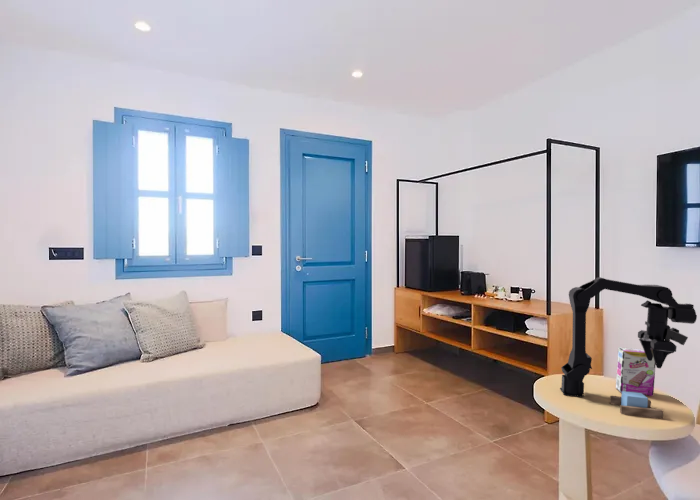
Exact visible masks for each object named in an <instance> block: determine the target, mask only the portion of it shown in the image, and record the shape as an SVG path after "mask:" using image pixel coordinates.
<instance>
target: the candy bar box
mask: <svg viewBox="0 0 700 500" xmlns="http://www.w3.org/2000/svg"><path fill="white" fill-rule="evenodd" d="M655 372H656V364H655V361H654V358H652V361H649V360H648V359H647V357H646V354H645V352H644V349H643V348H642V349H641V348H640V349H639V348H629V347H626V348H625V347H618V348H617V363H616V377H615V389H616V390H617V391H618V392H619V393H621V394H622V391H626V392H636V393H642V394H643V395H645V396H646V397H647V396H648V397H654V394H655V393H654V392H655V391H654V388H655V376H656V375H655V374H656V373H655Z"/></svg>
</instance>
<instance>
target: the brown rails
mask: <svg viewBox="0 0 700 500" xmlns="http://www.w3.org/2000/svg"><path fill="white" fill-rule="evenodd" d="M609 397H610V398H609V403H610V404H611V405H619V413H620V415H628V416H637V417H643V418H644V417H646V418H653V419H654V418H655V419H664V410H663V409H659V408H658V409H657V408H651V407H652V405H651V404H652V403H651V402H652V401H651V400H650V399H648V406H647V408H642V407H633V406H624V405H621V396H618V395H610V396H609Z"/></svg>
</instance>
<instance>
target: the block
mask: <svg viewBox="0 0 700 500" xmlns="http://www.w3.org/2000/svg"><path fill="white" fill-rule="evenodd" d="M620 397H621V405H624V406H633V407H642V408H647V406H648V400H649V398H648V397H647V395H643V394H642V393H636V392H626V391H622V393H621V396H620Z"/></svg>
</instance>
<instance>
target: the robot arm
mask: <svg viewBox="0 0 700 500" xmlns="http://www.w3.org/2000/svg"><path fill="white" fill-rule="evenodd" d="M603 290H607V291H613V292H617V293H618V292H619V293H624V294H629V295H635V296H640V297H642V298H646V299H648V300H646V301H644V302H643V303H641V305H640V306H641V307H643V308H646V309H647V320H646V321H644V325H646V330H644V329H640V330H639V331H638V332H637V338H638V340H639V342H640V344H641V347H642V350H644V352H645V354H646V357H647V359H648V360H649V361H652V358H654V361H655V364H656V365H655V368H657V369H661V368H662V367H663V365H664V362H665V361H666V359H667V357H668V355H670V354H674V353H675V352H677V347H678V346H677V345H676V344H675V343H674V342H676V343H678V344H680V345H681V346H684V345H685V343H686V342H687V341H688V338H689V337H688V336H687V335H684V334H683V333H681V332H680V330H679V328H678V329H677V328H676V327H671V326H670V325H668V321H669V320H670V321H671V322H672V323H678V324H679V323H681V324H690V325H692V324H695V323H696V321H697V318H698V316H697V312H696V310H695V308H694V307H695V306H694V304H691V303H679V302H677V300H676V299H675V298H674V296H673V292H672V290H671V288H669V287H667V286H663V285H658V284H636V283H629V282H625V281H619V280H612V279H608V278H604V277H596V278H594V279H592V280H590V281H588V282H586V283H585V284H582V285H580V286H575V287H572V288H571V289H570V290H569V291H568V299H569V303H570V307H571V310H572V340H571V341H572V345H571V346H572V348H571V351H570V352H569V355H568V360H567V362H566V363H565V364H564V365H562V366H561V369H560V370H561V372H562V373H563V374H561V387H560V388H559V390H560V391H561V392H562V394H563V395H564V396H569V397H571V396H572V397H579V398H584V397H585V396H584V393H585V382H584V378H585V377H586V376H587V375H588V374H590V371H591V370H593V368H592V360H593V359H592V357H591V356H590V355H589V354H588V353H587V351H586V350H587V349H586V347H587V346H586V342H587V341H586V337H587V336H586V335H587V331H586V330H587V328H586V324H587V323H586V322H587V312H588V310H589V308H590V302H591V299H592V298H595V297H596V296H597V295H598V294H600V293H601V292H603ZM650 300H651V301H655V302H657V303H655V302H651V301H650ZM663 305H666V306H663Z"/></svg>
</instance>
